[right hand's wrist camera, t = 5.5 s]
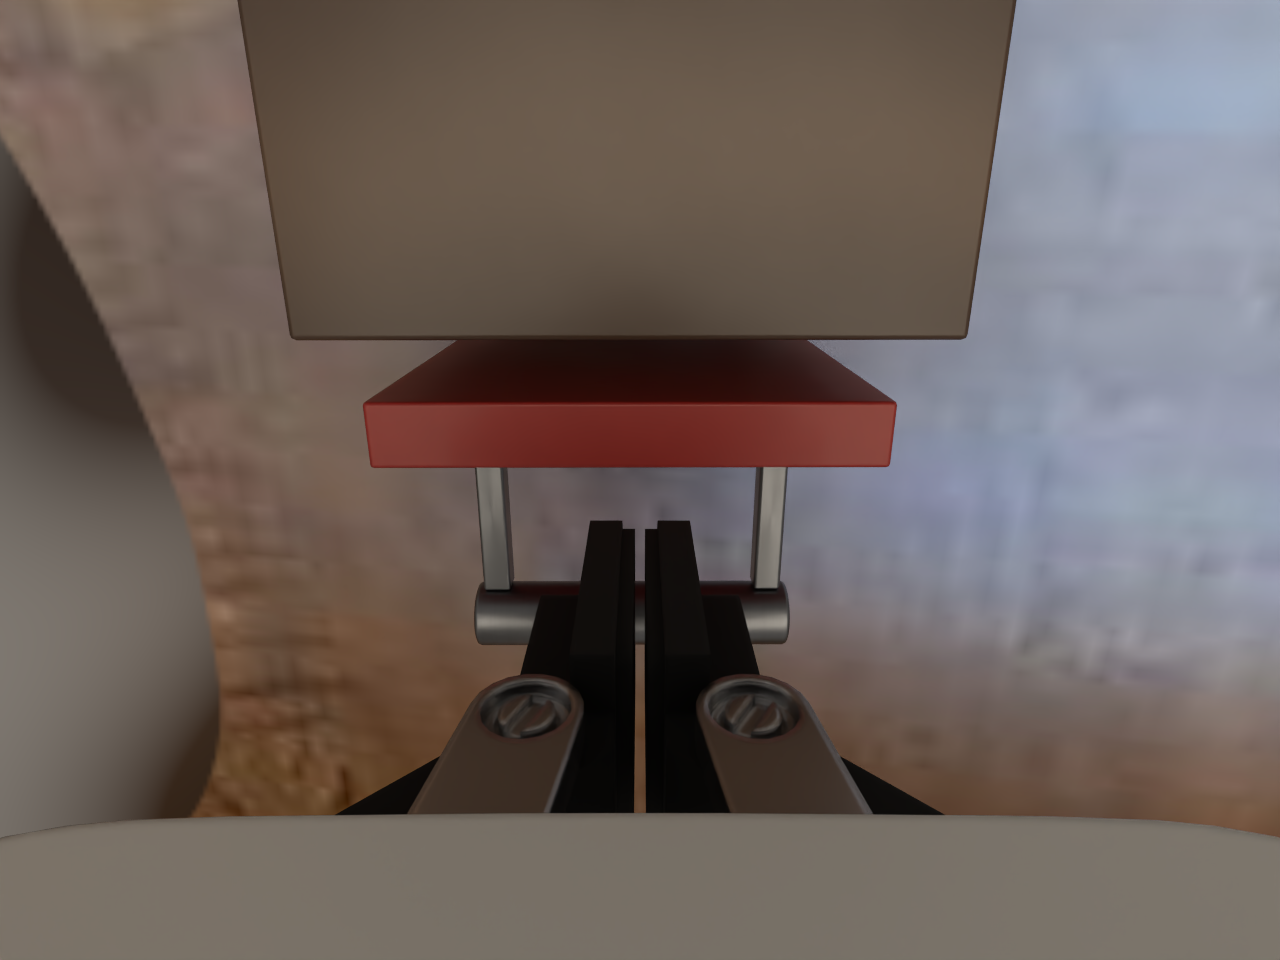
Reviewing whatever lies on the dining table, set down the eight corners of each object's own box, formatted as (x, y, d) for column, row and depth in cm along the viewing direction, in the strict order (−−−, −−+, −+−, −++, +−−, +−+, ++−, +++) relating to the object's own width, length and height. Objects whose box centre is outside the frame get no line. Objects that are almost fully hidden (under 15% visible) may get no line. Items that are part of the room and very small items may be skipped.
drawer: (779, 534, 23) (861, 715, 15) (487, 535, 23) (401, 717, 15) (852, -536, 15) (1123, -1486, 7) (406, -537, 15) (115, -1499, 7)
